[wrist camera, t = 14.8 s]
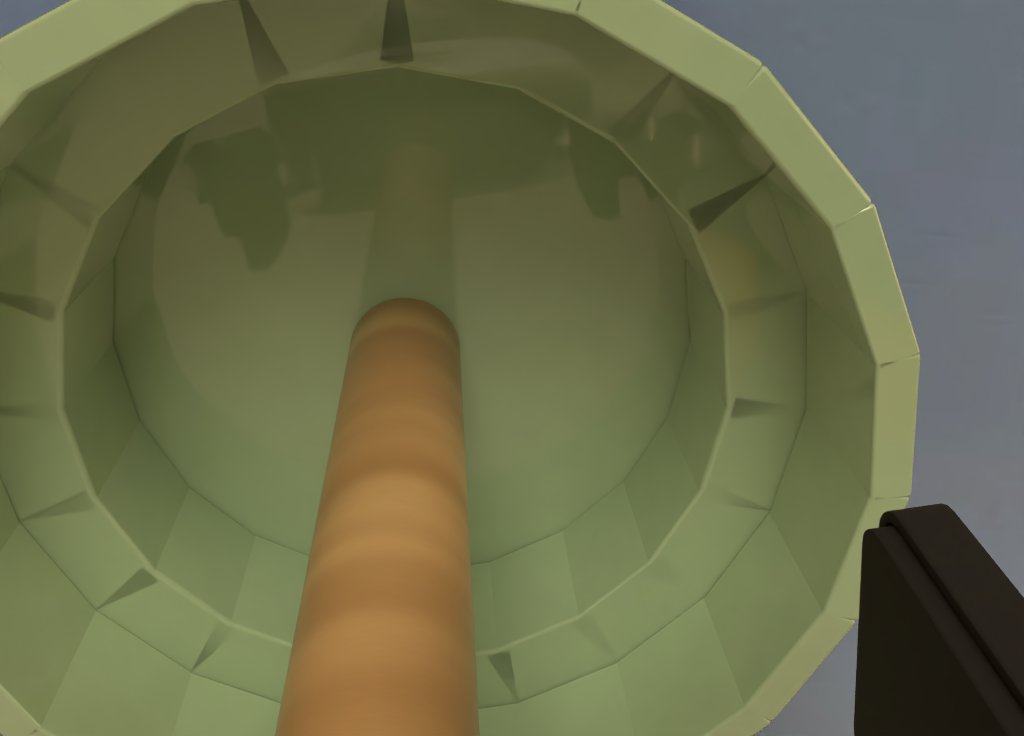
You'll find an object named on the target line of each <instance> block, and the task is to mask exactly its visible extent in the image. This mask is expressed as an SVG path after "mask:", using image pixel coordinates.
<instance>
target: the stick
mask: <svg viewBox="0 0 1024 736" xmlns="http://www.w3.org/2000/svg"><path fill="white" fill-rule="evenodd" d="M275 736H480V731H479V711H478V692H477V672H476V653H475V633H474V614H473V594H472V575H471V556H470V536H469V517H468V497H467V478H466V458H465V439H464V419H463V400H462V380H461V361H460V344H459V338H458V334H457V332H456V329H455V327H454V325H453V324H452V322H451V321H450V319H449V318H448V317H447V316H446V315H445V314H444V313H443V312H442V311H440V310H439V309H438V308H436V307H435V306H433V305H431V304H429V303H427V302H424V301H421V300H417V299H411V298H399V299H392V300H388V301H385V302H382V303H380V304H378V305H376V306H374V307H373V308H371V309H370V310H369V311H367V312H366V313H365V314H364V315H363V316H362V317H361V319H360V320H359V321H358V323H357V325H356V327H355V329H354V331H353V334H352V338H351V343H350V348H349V353H348V358H347V364H346V369H345V374H344V379H343V384H342V390H341V395H340V400H339V405H338V410H337V416H336V421H335V426H334V431H333V436H332V441H331V447H330V452H329V457H328V462H327V467H326V473H325V478H324V483H323V488H322V493H321V499H320V504H319V509H318V514H317V519H316V524H315V530H314V535H313V540H312V545H311V550H310V556H309V561H308V566H307V571H306V576H305V582H304V587H303V592H302V597H301V602H300V607H299V613H298V618H297V623H296V628H295V633H294V639H293V644H292V649H291V654H290V659H289V665H288V670H287V675H286V680H285V685H284V691H283V696H282V701H281V706H280V711H279V716H278V722H277V727H276V732H275Z"/></svg>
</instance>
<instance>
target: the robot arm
mask: <svg viewBox="0 0 1024 736" xmlns="http://www.w3.org/2000/svg"><path fill="white" fill-rule="evenodd" d="M854 735H855V736H1024V598H1023V596H1022V595H1021V594H1020V593H1019V591H1018V590H1017V589H1016V588H1015V586H1014V585H1013V584H1012V583H1011V581H1010V580H1009V579H1008V578H1007V576H1006V575H1005V574H1004V573H1003V571H1002V570H1001V569H1000V568H999V567H998V565H997V564H996V563H995V562H994V560H993V559H992V558H991V557H990V555H989V554H988V553H987V552H986V550H985V549H984V548H983V547H982V545H981V544H980V543H979V542H978V540H977V539H976V538H975V537H974V535H973V534H972V533H971V532H970V530H969V529H968V528H967V527H966V526H965V524H964V523H963V522H962V521H961V519H960V518H959V517H958V516H957V514H956V513H955V512H954V511H953V510H952V509H951V508H950V507H949V506H948V505H945V504H935V505H928V506H921V507H913V508H906V509H899V510H892V511H886V512H885V513H883V514H882V516H881V518H880V522H879V528H872V529H867V530H866V531H865V532H864V535H863V540H862V558H861V580H860V602H859V625H858V647H857V669H856V691H855V713H854Z"/></svg>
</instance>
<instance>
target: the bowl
mask: <svg viewBox="0 0 1024 736" xmlns="http://www.w3.org/2000/svg"><path fill="white" fill-rule="evenodd" d="M399 298H411V299H417V300H421V301H424V302H427V303H429V304H431V305H433V306H435V307H436V308H438V309H439V310H440V311H442V312H443V313H444V314H445V315H446V316H447V317H448V318H449V319H450V321H451V322H452V324H453V325H454V327H455V329H456V332H457V334H458V338H459V344H460V361H461V380H462V400H463V419H464V439H465V458H466V478H467V497H468V517H469V536H470V556H471V575H472V594H473V614H474V633H475V653H476V672H477V692H478V711H479V731H480V736H753V735H755V734H756V733H758V732H759V731H760V730H762V729H763V728H765V727H766V726H768V725H769V724H770V720H773V719H774V718H775V717H776V716H777V715H778V714H779V713H780V711H781V710H782V709H783V708H784V707H785V706H786V704H787V703H788V702H789V701H790V700H791V698H792V697H793V696H794V695H795V694H796V693H797V691H798V690H799V689H800V688H801V687H802V686H803V684H804V683H805V682H806V681H807V680H808V678H809V677H810V676H811V675H812V674H813V673H814V671H815V670H816V669H817V668H818V667H819V666H820V664H821V663H822V662H823V661H824V660H825V658H826V657H827V656H828V655H829V654H830V653H831V651H832V650H833V649H834V648H835V647H836V645H837V644H838V643H839V642H840V641H841V640H842V638H843V637H844V636H845V635H846V634H847V633H848V631H849V630H850V629H851V628H852V627H853V625H854V624H855V620H856V619H858V618H859V602H860V580H861V558H862V540H863V535H864V532H865V531H866V530H867V529H872V528H879V522H880V518H881V516H882V514H883V513H885V512H886V511H892V510H899V509H905V508H906V506H907V503H908V501H909V497H908V496H910V495H911V488H912V473H913V458H914V442H915V427H916V412H917V397H918V382H919V367H920V355H919V352H920V350H919V346H918V343H917V340H916V336H915V333H914V330H913V327H912V323H911V320H910V317H909V314H908V310H907V307H906V304H905V301H904V297H903V294H902V291H901V288H900V284H899V281H898V278H897V275H896V271H895V268H894V265H893V262H892V258H891V255H890V252H889V249H888V245H887V242H886V239H885V236H884V232H883V229H882V226H881V223H880V219H879V216H878V213H877V210H876V206H875V205H874V204H873V203H872V202H871V199H870V197H869V195H868V194H867V193H866V191H865V190H864V189H863V188H862V186H861V185H860V184H859V183H858V181H857V180H856V179H855V178H854V176H853V175H852V174H851V172H850V171H849V170H848V169H847V167H846V166H845V165H844V164H843V162H842V161H841V160H840V159H839V157H838V156H837V155H836V153H835V152H834V151H833V150H832V148H831V147H830V146H829V145H828V143H827V142H826V141H825V139H824V138H823V137H822V136H821V134H820V133H819V132H818V131H817V129H816V128H815V127H814V126H813V124H812V123H811V122H810V120H809V119H808V118H807V117H806V115H805V114H804V113H803V112H802V110H801V109H800V108H799V106H798V105H797V104H796V103H795V101H794V100H793V99H792V98H791V96H790V95H789V94H788V93H787V91H786V90H785V89H784V87H783V86H782V85H781V84H780V82H779V81H778V80H777V79H776V77H775V76H774V75H773V73H772V72H771V71H770V70H769V68H768V67H766V66H764V65H762V63H761V61H760V60H759V59H757V58H756V57H754V56H752V55H751V54H749V53H747V52H746V51H744V50H742V49H741V48H739V47H737V46H736V45H734V44H733V43H731V42H729V41H728V40H726V39H724V38H723V37H721V36H719V35H718V34H716V33H714V32H713V31H711V30H710V29H708V28H706V27H705V26H703V25H701V24H700V23H698V22H696V21H695V20H693V19H691V18H690V17H688V16H686V15H685V14H683V13H682V12H680V11H678V10H677V9H675V8H673V7H672V6H670V5H668V4H667V3H665V2H663V1H662V0H69V1H67V2H65V3H64V4H62V5H60V6H58V7H56V8H54V9H52V10H51V11H49V12H47V13H45V14H43V15H41V16H40V17H38V18H36V19H34V20H32V21H30V22H29V23H27V24H25V25H23V26H21V27H19V28H18V29H16V30H14V31H12V32H10V33H8V34H6V35H5V36H3V37H1V38H0V735H1V736H275V732H276V727H277V722H278V716H279V711H280V706H281V701H282V696H283V691H284V685H285V680H286V675H287V670H288V665H289V659H290V654H291V649H292V644H293V639H294V633H295V628H296V623H297V618H298V613H299V607H300V602H301V597H302V592H303V587H304V582H305V576H306V571H307V566H308V561H309V556H310V550H311V545H312V540H313V535H314V530H315V524H316V519H317V514H318V509H319V504H320V499H321V493H322V488H323V483H324V478H325V473H326V467H327V462H328V457H329V452H330V447H331V441H332V436H333V431H334V426H335V421H336V416H337V410H338V405H339V400H340V395H341V390H342V384H343V379H344V374H345V369H346V364H347V358H348V353H349V348H350V343H351V338H352V334H353V331H354V329H355V327H356V325H357V323H358V321H359V320H360V319H361V317H362V316H363V315H364V314H365V313H366V312H367V311H369V310H370V309H371V308H373V307H374V306H376V305H378V304H380V303H382V302H385V301H388V300H392V299H399Z"/></svg>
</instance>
